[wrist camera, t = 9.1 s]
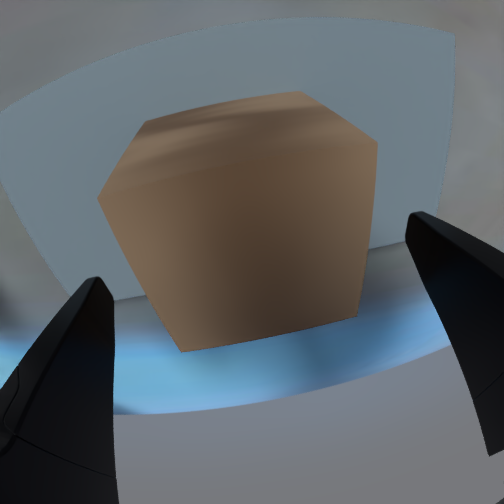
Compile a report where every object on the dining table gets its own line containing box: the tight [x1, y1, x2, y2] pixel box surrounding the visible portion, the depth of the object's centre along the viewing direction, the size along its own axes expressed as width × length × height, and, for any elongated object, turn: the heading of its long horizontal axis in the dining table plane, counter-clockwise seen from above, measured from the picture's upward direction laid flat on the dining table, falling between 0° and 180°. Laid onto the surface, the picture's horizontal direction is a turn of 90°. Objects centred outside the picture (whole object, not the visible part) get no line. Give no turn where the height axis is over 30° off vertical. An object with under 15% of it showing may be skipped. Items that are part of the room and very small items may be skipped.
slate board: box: [0, 17, 455, 301], centre depth 13 cm, size 22×12×2 cm, turn 98°
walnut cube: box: [97, 91, 378, 352], centre depth 10 cm, size 6×6×6 cm
